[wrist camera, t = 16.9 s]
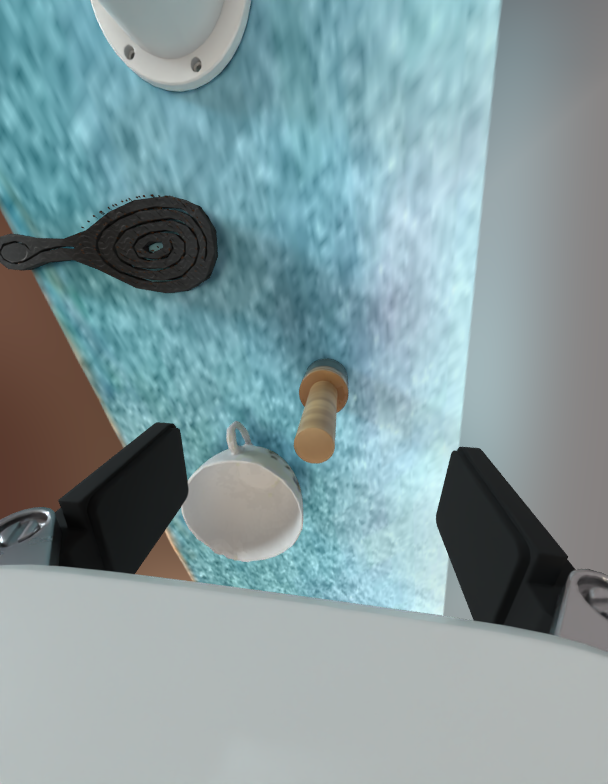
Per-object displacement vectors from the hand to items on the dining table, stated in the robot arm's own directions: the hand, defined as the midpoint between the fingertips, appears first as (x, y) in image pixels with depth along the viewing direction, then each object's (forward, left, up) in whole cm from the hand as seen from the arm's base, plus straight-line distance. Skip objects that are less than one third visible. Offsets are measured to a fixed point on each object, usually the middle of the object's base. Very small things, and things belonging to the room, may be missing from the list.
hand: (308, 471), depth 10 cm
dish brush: (+3, -2, -22) cm, 22 cm away
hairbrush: (-16, -19, -22) cm, 33 cm away
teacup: (+11, -13, -22) cm, 28 cm away
